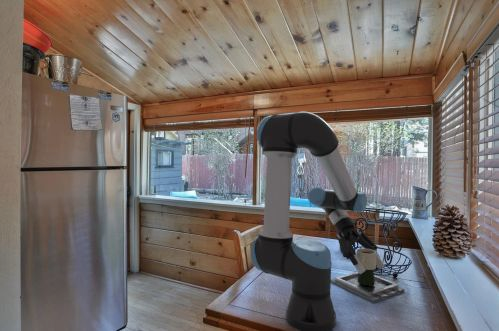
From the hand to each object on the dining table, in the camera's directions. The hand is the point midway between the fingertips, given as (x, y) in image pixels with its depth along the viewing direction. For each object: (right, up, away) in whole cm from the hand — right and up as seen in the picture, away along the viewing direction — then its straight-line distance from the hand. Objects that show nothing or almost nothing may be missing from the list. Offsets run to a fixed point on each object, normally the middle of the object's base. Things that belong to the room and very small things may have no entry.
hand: (372, 269), depth 113 cm
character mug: (-1, -7, +3) cm, 7 cm away
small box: (+5, -7, +45) cm, 46 cm away
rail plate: (-2, -8, +3) cm, 8 cm away
